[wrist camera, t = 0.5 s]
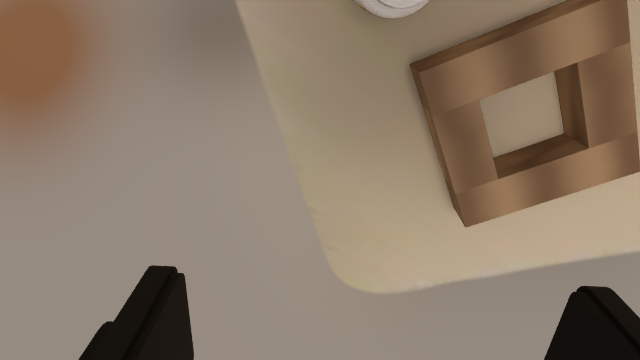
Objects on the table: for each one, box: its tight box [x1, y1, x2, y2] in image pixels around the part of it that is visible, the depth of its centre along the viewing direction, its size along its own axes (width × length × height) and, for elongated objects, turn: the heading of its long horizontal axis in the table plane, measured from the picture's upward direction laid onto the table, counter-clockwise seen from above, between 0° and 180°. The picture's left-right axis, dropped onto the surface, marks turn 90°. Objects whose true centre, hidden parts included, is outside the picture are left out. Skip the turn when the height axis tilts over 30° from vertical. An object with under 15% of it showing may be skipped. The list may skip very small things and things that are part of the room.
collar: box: [410, 0, 640, 227], centre depth 32 cm, size 14×14×4 cm
